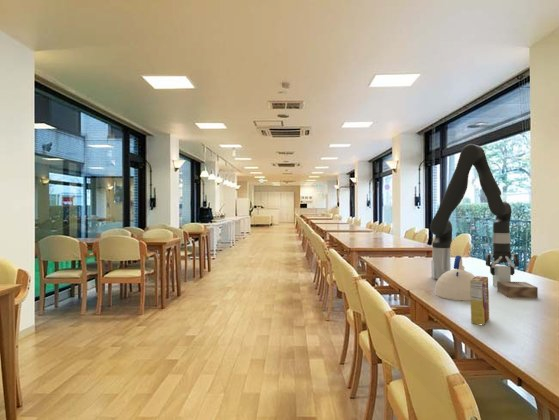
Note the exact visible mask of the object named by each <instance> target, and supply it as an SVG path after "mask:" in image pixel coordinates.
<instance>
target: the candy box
mask: <svg viewBox="0 0 559 420" xmlns="http://www.w3.org/2000/svg"><path fill="white" fill-rule="evenodd" d="M470 295H471V301H470V321H471V324H472V323H475V324H474V325H477V324H482V325H481V326H485V325H486V324H487V323H488V322H489V320H490V297H489V296H490V295H489V277H488V276H480V275H479V276H478V275H475V277H474V278H473V279H471V280H470ZM484 324H485V325H484Z"/></svg>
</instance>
